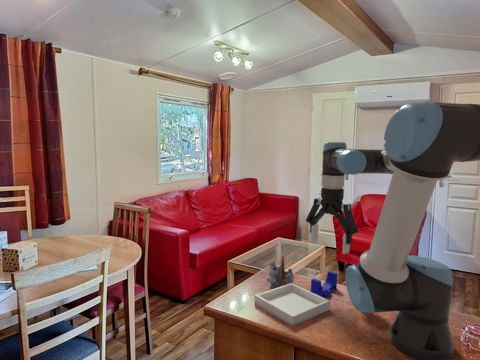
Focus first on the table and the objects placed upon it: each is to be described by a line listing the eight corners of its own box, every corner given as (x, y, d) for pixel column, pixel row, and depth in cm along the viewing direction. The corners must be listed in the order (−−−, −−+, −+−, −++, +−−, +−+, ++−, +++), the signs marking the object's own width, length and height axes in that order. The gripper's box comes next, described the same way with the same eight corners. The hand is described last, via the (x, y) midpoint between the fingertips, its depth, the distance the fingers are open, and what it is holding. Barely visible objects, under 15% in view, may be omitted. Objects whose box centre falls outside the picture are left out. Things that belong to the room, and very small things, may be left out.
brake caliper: (299, 285, 125) (279, 257, 125) (274, 300, 128) (254, 273, 128) (300, 273, 136) (282, 248, 136) (277, 287, 139) (260, 262, 139)
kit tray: (329, 309, 113) (330, 300, 112) (292, 326, 102) (292, 316, 102) (291, 290, 126) (291, 282, 126) (254, 303, 116) (254, 295, 115)
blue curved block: (321, 300, 120) (322, 283, 119) (310, 295, 123) (311, 279, 122) (340, 290, 128) (341, 274, 127) (329, 286, 131) (330, 270, 131)
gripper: (371, 191, 113) (367, 255, 116) (311, 182, 132) (309, 237, 135) (358, 193, 108) (353, 260, 111) (297, 183, 128) (295, 240, 131)
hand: (329, 247), depth 123 cm, fingers open, 13 cm apart
